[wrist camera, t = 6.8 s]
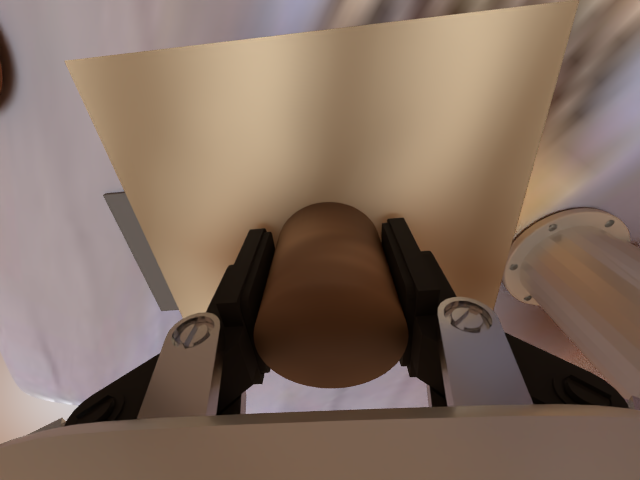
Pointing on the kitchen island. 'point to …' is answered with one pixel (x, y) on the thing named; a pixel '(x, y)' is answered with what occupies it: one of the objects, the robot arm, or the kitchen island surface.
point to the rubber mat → (140, 249)
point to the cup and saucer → (0, 77)
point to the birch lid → (333, 166)
